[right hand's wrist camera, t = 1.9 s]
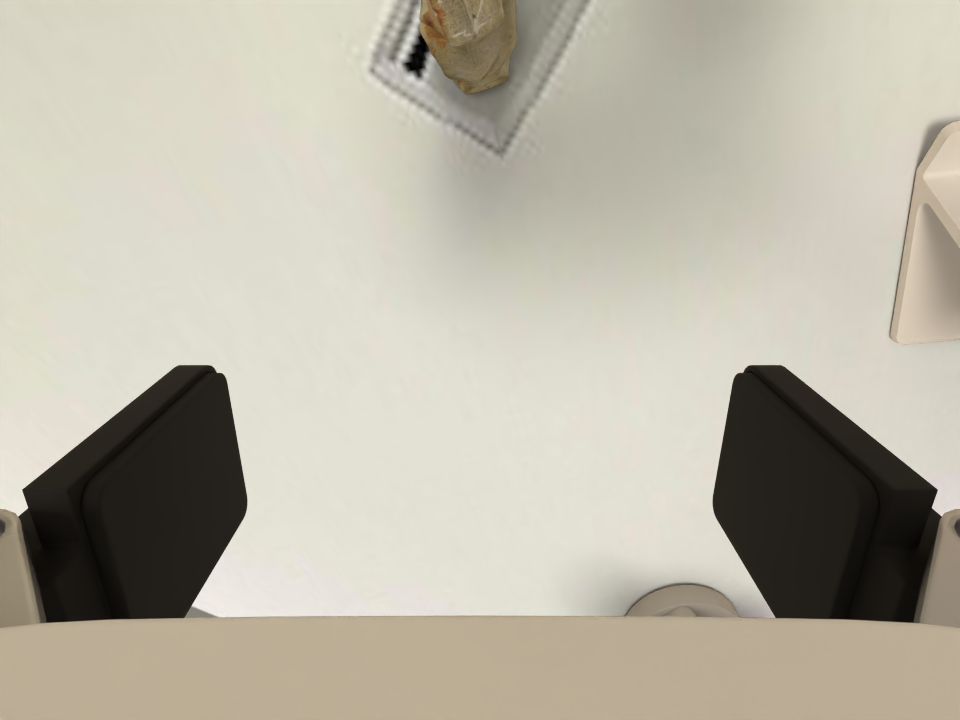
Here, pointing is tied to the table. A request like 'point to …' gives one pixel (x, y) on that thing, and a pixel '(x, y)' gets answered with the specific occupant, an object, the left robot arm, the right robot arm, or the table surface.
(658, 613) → the bust sculpture
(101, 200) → the table surface
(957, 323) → the tablet stand
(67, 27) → the table surface
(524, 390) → the table surface
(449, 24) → the sculpture
